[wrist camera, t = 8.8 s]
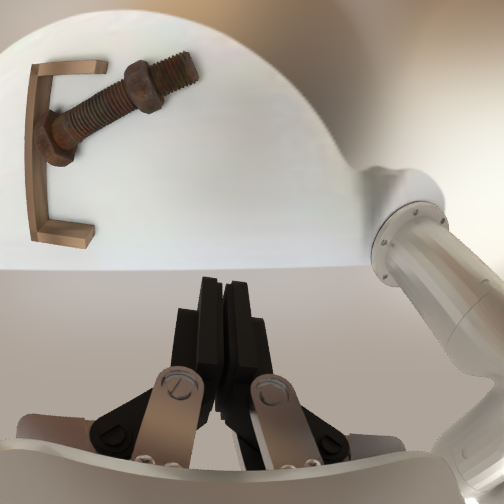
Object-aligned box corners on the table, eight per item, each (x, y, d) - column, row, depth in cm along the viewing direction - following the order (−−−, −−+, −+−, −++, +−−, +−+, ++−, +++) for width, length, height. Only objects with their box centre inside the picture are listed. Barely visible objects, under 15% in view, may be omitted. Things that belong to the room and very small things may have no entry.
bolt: (197, 75, 24) (68, 141, 25) (180, 32, 20) (42, 110, 20) (209, 102, 21) (59, 178, 22) (188, 52, 17) (26, 145, 18)
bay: (108, 61, 20) (96, 60, 18) (94, 235, 29) (85, 249, 27) (46, 64, 19) (31, 64, 16) (42, 227, 28) (31, 240, 25)
